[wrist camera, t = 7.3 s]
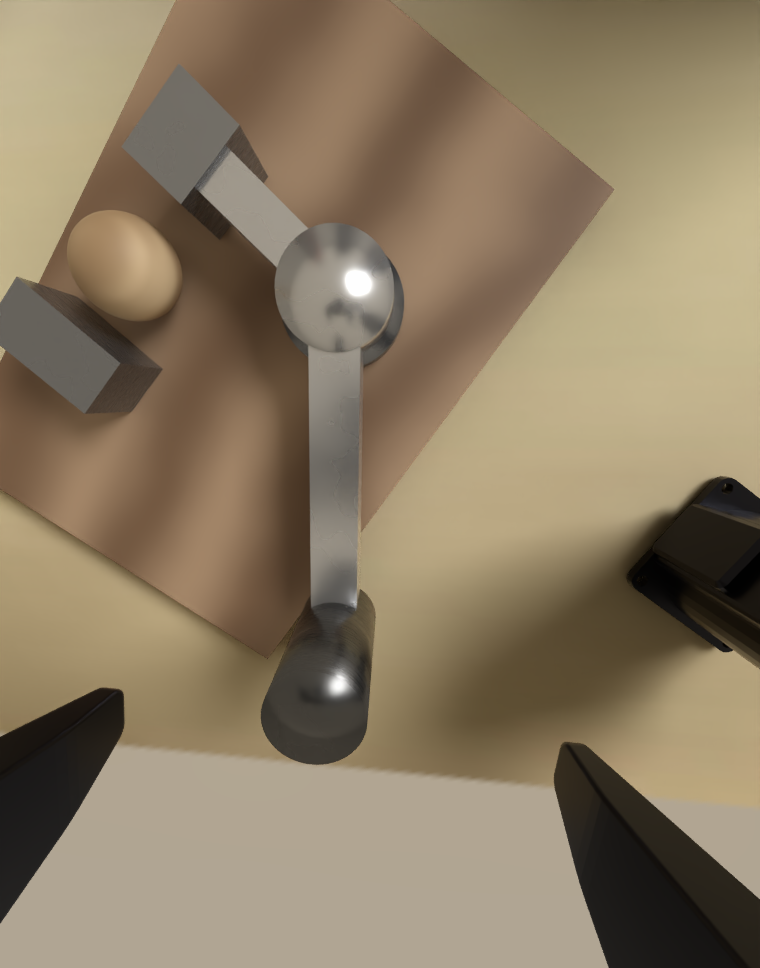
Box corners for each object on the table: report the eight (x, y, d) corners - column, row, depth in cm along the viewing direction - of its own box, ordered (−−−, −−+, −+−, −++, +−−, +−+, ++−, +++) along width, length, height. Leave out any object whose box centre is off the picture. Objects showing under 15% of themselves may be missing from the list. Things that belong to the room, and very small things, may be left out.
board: (598, 204, 17) (614, 189, 16) (274, 644, 21) (267, 658, 20) (249, -87, 15) (237, -128, 14) (-21, 455, 20) (-47, 459, 19)
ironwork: (393, 234, 16) (393, 200, 13) (412, 362, 17) (415, 354, 14) (35, 304, 17) (-33, 286, 14) (72, 422, 18) (14, 426, 15)
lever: (167, 127, 15) (-15, -93, 9) (399, 129, 15) (404, -95, 8) (202, 630, 20) (99, 754, 13) (384, 637, 19) (379, 767, 12)
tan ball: (216, 271, 17) (168, 236, 13) (172, 346, 17) (116, 333, 14) (139, 214, 16) (69, 163, 13) (97, 294, 17) (20, 266, 13)
